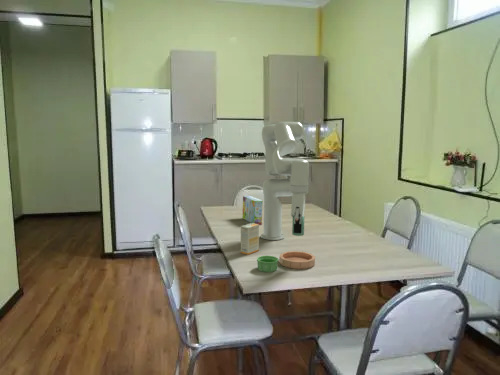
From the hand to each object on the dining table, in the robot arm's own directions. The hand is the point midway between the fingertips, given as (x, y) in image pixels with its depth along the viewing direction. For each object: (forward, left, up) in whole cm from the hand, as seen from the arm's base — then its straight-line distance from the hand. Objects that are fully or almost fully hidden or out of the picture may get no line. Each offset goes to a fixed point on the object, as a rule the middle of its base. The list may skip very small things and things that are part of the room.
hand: (298, 231), depth 173 cm
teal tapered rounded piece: (0, 0, -1) cm, 1 cm away
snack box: (-75, -37, -15) cm, 84 cm away
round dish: (0, 0, -14) cm, 14 cm away
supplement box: (-11, -24, -15) cm, 30 cm away
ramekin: (+10, -11, -15) cm, 21 cm away
